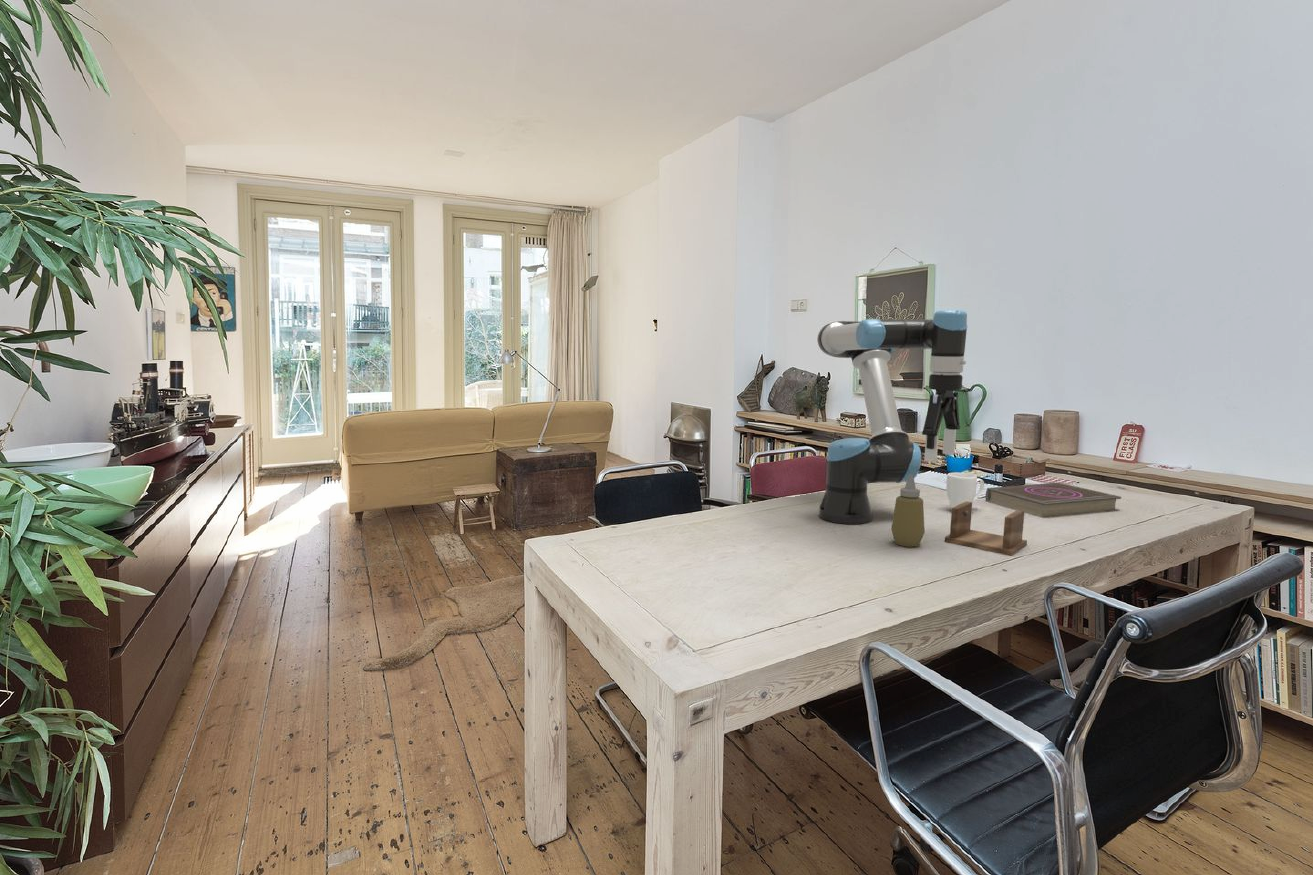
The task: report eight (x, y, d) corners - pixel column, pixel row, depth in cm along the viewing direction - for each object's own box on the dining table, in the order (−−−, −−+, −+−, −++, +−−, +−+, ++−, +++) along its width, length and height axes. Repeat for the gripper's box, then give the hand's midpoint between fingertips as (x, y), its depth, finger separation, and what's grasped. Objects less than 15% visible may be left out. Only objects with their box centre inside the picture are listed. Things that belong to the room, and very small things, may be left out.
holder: (944, 541, 166) (946, 507, 165) (961, 532, 174) (963, 500, 173) (1011, 555, 155) (1014, 519, 153) (1026, 545, 163) (1029, 510, 162)
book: (1043, 519, 189) (1045, 503, 189) (984, 502, 210) (985, 487, 210) (1119, 512, 198) (1121, 496, 198) (1055, 496, 219) (1057, 482, 219)
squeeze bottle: (927, 549, 159) (931, 479, 156) (892, 547, 161) (896, 477, 158) (920, 540, 167) (924, 472, 164) (888, 538, 168) (891, 471, 166)
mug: (957, 515, 192) (959, 478, 190) (939, 508, 200) (941, 472, 198) (991, 513, 195) (993, 476, 193) (971, 506, 203) (974, 471, 201)
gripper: (945, 376, 146) (938, 467, 149) (977, 372, 164) (970, 453, 168) (912, 375, 151) (906, 462, 154) (946, 371, 169) (940, 449, 173)
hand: (939, 457), depth 161 cm, fingers open, 13 cm apart
